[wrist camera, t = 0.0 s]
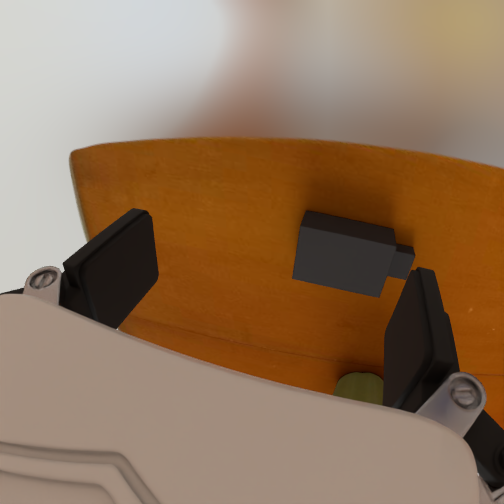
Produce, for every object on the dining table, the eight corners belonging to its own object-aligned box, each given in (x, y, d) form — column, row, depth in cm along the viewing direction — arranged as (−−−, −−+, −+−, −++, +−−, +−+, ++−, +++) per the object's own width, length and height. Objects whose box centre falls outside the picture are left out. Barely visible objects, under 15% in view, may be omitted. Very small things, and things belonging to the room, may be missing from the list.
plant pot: (414, 371, 38) (415, 442, 29) (376, 411, 45) (369, 472, 36) (339, 349, 40) (326, 422, 31) (310, 393, 47) (294, 455, 38)
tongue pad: (306, 210, 32) (300, 225, 29) (417, 234, 29) (422, 252, 26) (298, 260, 35) (291, 278, 32) (400, 282, 32) (402, 303, 30)
